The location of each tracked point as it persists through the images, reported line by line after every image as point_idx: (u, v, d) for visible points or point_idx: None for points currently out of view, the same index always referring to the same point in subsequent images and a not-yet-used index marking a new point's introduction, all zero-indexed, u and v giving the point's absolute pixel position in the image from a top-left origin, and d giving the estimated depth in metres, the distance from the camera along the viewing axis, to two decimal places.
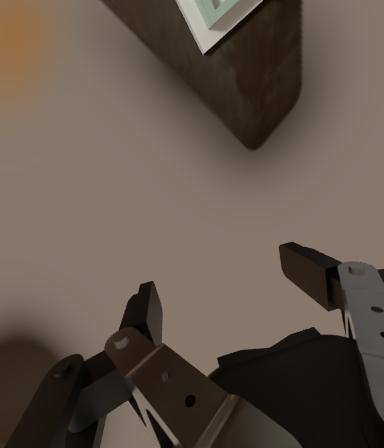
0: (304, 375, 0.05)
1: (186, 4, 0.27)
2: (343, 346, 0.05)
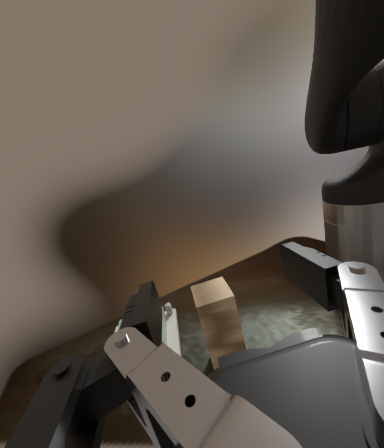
0: (304, 376, 0.05)
1: None
2: (343, 346, 0.05)
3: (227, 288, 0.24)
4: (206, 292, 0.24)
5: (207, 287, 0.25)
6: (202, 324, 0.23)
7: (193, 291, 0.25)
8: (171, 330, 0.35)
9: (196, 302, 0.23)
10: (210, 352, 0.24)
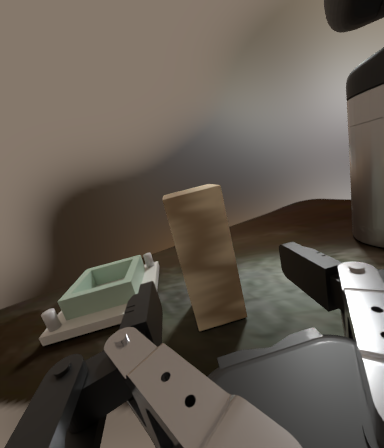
0: (304, 376, 0.05)
1: None
2: (343, 346, 0.05)
3: (212, 185, 0.17)
4: (181, 192, 0.17)
5: (185, 190, 0.18)
6: (172, 229, 0.15)
7: (165, 195, 0.18)
8: (148, 279, 0.27)
9: (164, 198, 0.16)
10: (186, 277, 0.16)
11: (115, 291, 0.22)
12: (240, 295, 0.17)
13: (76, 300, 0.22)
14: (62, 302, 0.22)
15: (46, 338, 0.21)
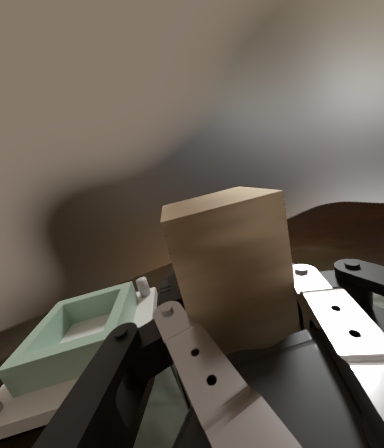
0: (304, 376, 0.05)
1: None
2: None
3: (256, 189, 0.09)
4: (197, 203, 0.09)
5: (201, 199, 0.10)
6: (181, 281, 0.07)
7: (165, 208, 0.10)
8: (141, 320, 0.19)
9: (165, 216, 0.08)
10: None
11: (88, 352, 0.14)
12: None
13: (27, 368, 0.14)
14: (4, 372, 0.14)
15: None
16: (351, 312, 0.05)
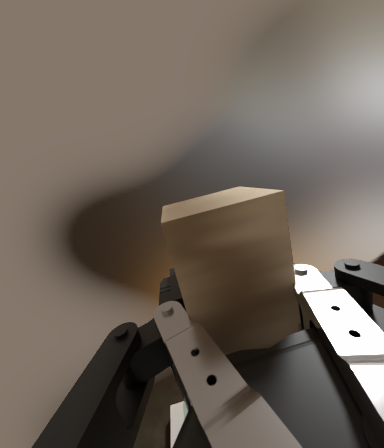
0: (304, 376, 0.05)
1: None
2: None
3: (256, 190, 0.09)
4: (197, 203, 0.09)
5: (201, 199, 0.10)
6: (182, 282, 0.07)
7: (166, 208, 0.10)
8: None
9: (165, 217, 0.08)
10: None
11: None
12: None
13: None
14: None
15: None
16: (351, 312, 0.05)
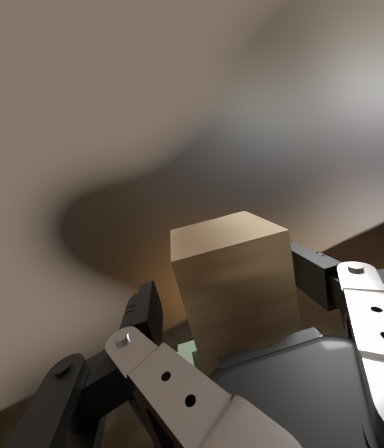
0: (304, 376, 0.05)
1: None
2: (343, 346, 0.05)
3: (262, 222, 0.09)
4: (204, 233, 0.09)
5: (208, 226, 0.10)
6: (190, 315, 0.08)
7: (174, 235, 0.10)
8: None
9: (174, 251, 0.08)
10: None
11: None
12: None
13: None
14: None
15: None
16: None
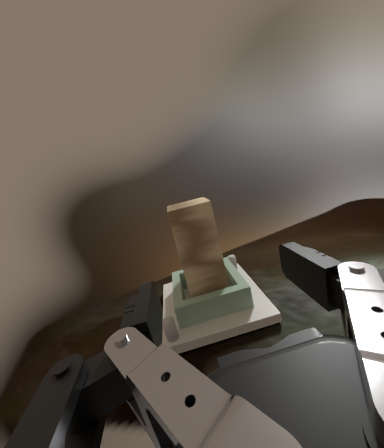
0: (304, 376, 0.05)
1: None
2: (343, 346, 0.05)
3: (205, 199, 0.22)
4: (181, 205, 0.22)
5: (184, 203, 0.23)
6: (174, 233, 0.20)
7: (169, 207, 0.23)
8: None
9: (168, 210, 0.21)
10: (184, 270, 0.21)
11: (232, 297, 0.21)
12: (226, 284, 0.22)
13: (193, 307, 0.20)
14: (178, 309, 0.20)
15: None
16: None
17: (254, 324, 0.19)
